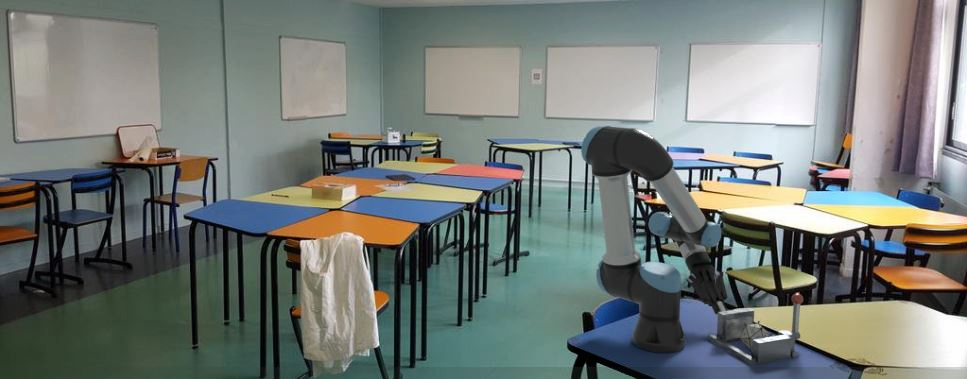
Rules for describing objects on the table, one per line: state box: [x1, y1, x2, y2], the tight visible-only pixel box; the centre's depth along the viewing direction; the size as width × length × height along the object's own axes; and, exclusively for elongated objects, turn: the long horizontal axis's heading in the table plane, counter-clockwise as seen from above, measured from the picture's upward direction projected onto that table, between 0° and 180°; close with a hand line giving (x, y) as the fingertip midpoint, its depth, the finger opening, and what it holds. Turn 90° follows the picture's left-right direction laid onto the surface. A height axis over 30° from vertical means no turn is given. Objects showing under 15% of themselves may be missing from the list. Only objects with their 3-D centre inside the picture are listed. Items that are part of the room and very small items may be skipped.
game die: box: [737, 320, 774, 353], centre depth 199 cm, size 9×8×10 cm
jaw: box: [716, 307, 755, 343], centre depth 206 cm, size 3×11×8 cm, turn 108°
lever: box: [790, 293, 804, 341], centre depth 198 cm, size 3×3×14 cm
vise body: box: [707, 329, 798, 366], centre depth 200 cm, size 19×18×6 cm
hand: (726, 322), depth 211 cm, fingers closed
